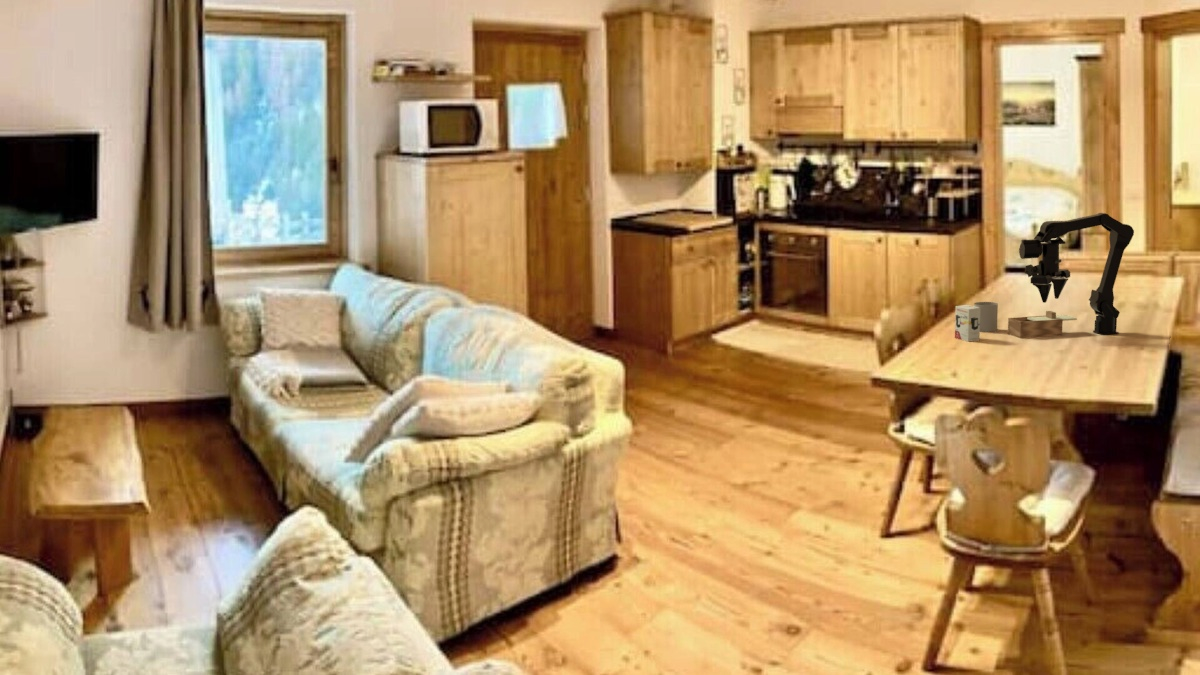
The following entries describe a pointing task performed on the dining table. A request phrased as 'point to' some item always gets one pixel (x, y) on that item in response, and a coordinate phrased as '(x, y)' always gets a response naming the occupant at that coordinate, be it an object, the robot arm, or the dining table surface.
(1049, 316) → the lid
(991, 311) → the cup
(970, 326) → the ink box
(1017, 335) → the box
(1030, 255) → the robot arm
